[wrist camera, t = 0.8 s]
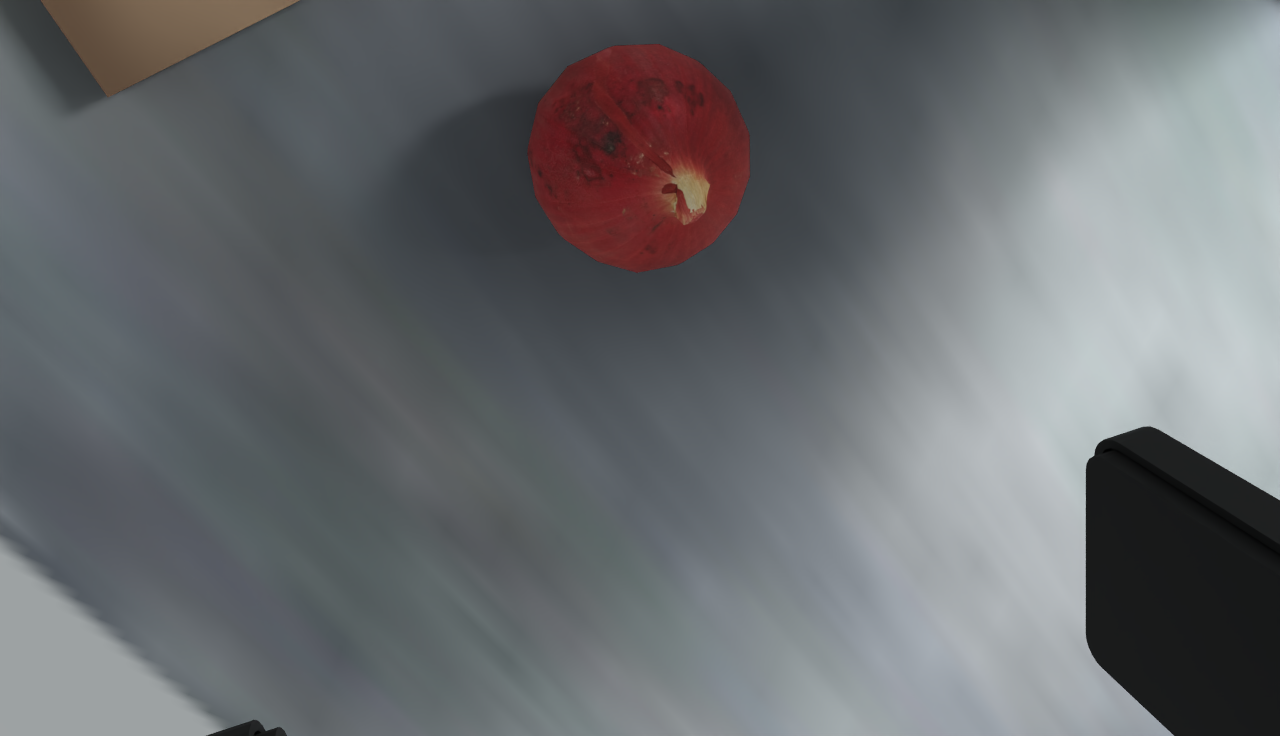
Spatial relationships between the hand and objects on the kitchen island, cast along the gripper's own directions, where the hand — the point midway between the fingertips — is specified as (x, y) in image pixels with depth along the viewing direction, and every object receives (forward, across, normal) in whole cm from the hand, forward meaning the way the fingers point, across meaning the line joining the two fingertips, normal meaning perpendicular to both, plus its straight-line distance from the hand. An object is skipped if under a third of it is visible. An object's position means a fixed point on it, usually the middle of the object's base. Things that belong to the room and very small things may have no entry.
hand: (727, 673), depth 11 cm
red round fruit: (+21, -4, -2) cm, 22 cm away
